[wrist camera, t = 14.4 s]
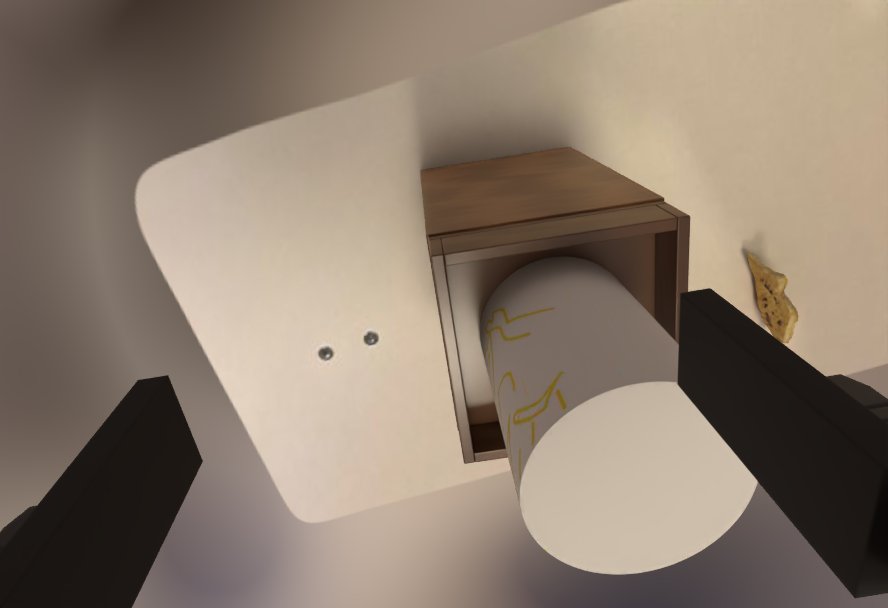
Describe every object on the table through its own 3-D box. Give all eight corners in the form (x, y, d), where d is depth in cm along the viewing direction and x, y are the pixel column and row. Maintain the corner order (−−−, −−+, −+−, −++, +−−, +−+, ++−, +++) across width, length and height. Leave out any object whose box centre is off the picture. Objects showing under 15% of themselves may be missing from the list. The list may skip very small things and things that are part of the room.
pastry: (775, 324, 52) (810, 350, 47) (759, 331, 52) (792, 357, 48) (752, 242, 49) (788, 261, 44) (735, 250, 49) (769, 269, 44)
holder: (459, 429, 33) (464, 464, 30) (428, 236, 28) (430, 256, 25) (660, 398, 33) (684, 430, 30) (662, 199, 28) (690, 215, 25)
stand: (442, 307, 49) (458, 431, 33) (420, 170, 45) (426, 234, 28) (577, 286, 49) (662, 399, 33) (570, 146, 45) (664, 197, 28)
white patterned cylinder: (481, 258, 28) (525, 386, 17) (641, 254, 29) (785, 376, 18) (478, 397, 31) (514, 579, 20) (622, 392, 32) (734, 568, 21)
